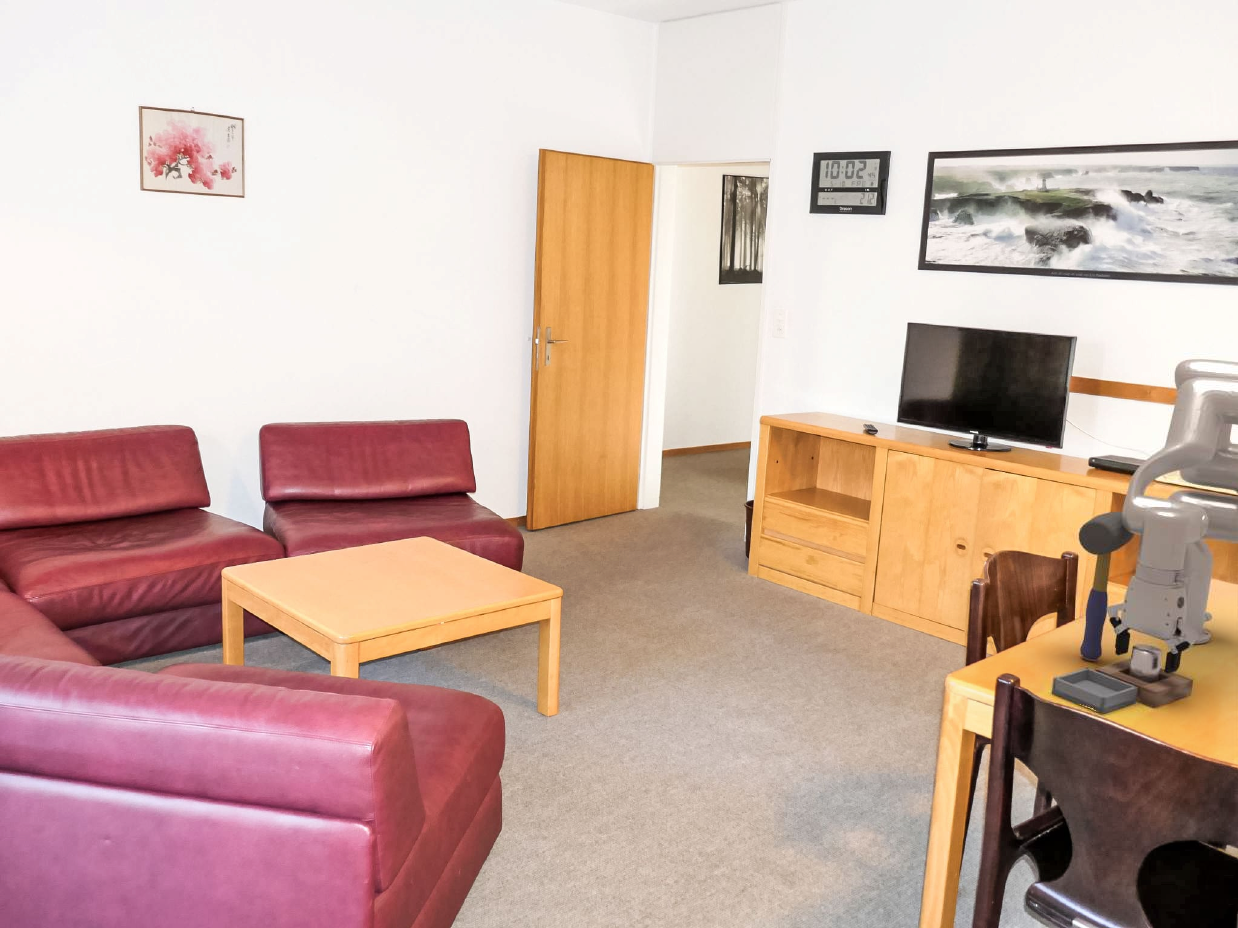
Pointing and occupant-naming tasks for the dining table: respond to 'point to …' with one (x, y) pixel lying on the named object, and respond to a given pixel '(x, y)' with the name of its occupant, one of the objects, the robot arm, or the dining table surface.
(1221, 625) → the dining table surface
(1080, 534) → the rubber mallet
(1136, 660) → the steel peg
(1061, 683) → the tray
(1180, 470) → the robot arm
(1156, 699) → the holder block
